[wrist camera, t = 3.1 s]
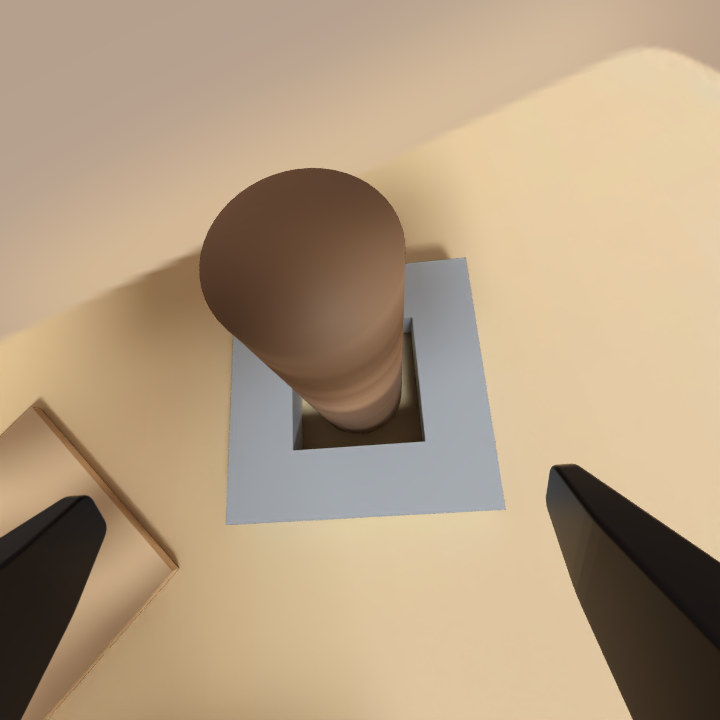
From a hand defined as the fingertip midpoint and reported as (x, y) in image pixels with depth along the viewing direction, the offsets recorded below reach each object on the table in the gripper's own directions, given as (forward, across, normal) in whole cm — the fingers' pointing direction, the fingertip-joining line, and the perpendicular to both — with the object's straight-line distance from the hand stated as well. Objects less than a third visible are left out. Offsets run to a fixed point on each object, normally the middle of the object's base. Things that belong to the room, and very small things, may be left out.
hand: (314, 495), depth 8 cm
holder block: (+12, 0, +5) cm, 13 cm away
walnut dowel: (+12, 0, +5) cm, 13 cm away
